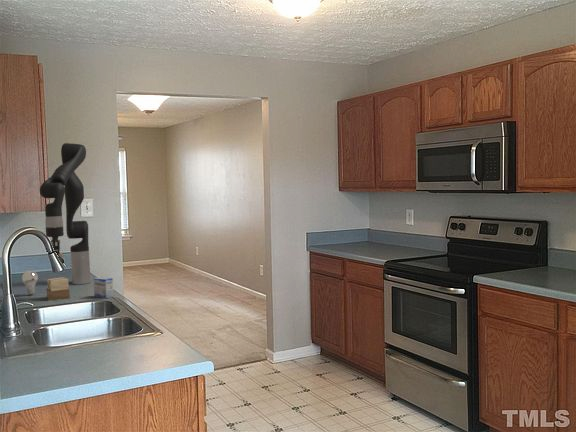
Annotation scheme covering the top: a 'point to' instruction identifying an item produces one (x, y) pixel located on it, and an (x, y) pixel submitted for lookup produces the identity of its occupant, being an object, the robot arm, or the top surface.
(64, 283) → the tower top
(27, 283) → the light bulb
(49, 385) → the top surface
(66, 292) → the tower bottom
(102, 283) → the medicine box
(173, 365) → the top surface
